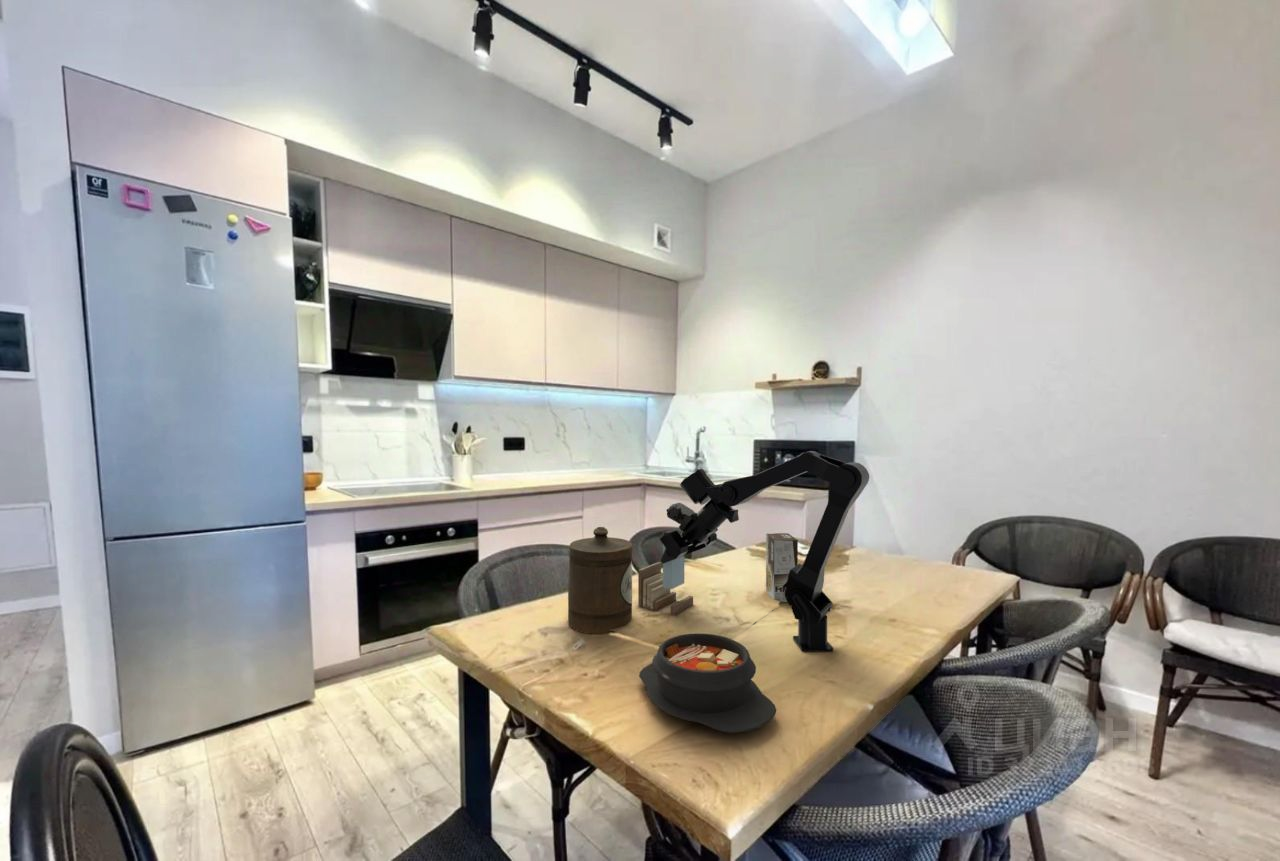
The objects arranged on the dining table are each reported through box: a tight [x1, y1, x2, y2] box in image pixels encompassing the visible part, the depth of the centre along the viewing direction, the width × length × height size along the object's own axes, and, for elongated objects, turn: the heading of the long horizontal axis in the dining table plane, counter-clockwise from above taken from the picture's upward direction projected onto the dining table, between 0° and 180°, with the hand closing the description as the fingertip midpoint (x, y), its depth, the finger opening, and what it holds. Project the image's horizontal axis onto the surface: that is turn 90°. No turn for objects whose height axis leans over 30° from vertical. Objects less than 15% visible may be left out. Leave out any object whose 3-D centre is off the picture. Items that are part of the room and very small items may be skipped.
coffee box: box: [765, 532, 799, 603], centre depth 135 cm, size 9×6×16 cm
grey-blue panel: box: [662, 544, 685, 590], centre depth 125 cm, size 2×6×12 cm, turn 144°
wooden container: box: [567, 526, 633, 635], centre depth 118 cm, size 15×15×22 cm
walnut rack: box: [637, 561, 695, 617], centre depth 126 cm, size 11×9×10 cm
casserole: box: [638, 632, 777, 734], centre depth 84 cm, size 25×19×8 cm
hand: (669, 559), depth 126 cm, fingers closed on grey-blue panel, 6 cm apart
